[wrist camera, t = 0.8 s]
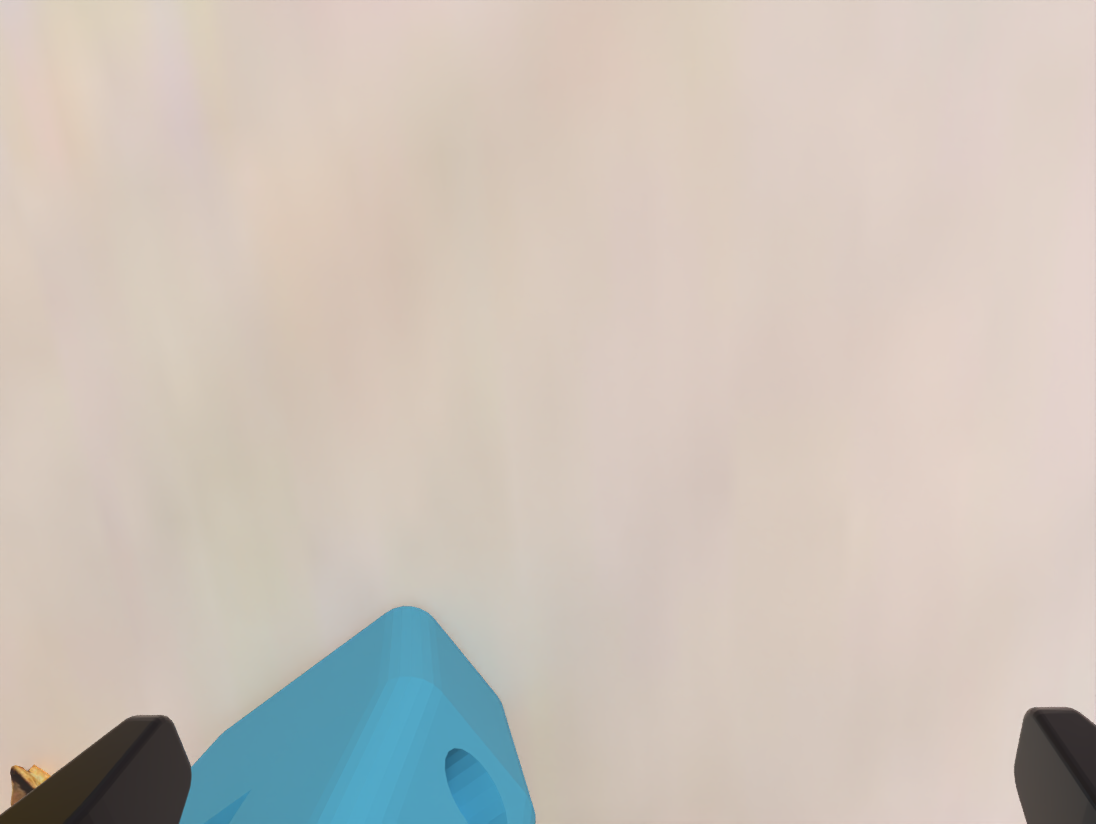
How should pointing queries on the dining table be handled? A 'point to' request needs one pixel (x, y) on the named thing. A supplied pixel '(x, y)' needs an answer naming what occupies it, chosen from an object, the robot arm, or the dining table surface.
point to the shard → (25, 781)
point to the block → (370, 741)
